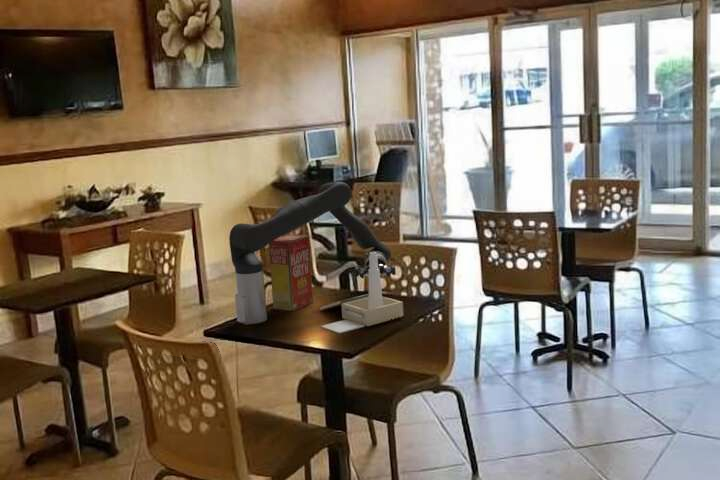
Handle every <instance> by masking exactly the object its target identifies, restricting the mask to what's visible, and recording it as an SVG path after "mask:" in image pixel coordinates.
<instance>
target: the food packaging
mask: <svg viewBox="0 0 720 480" xmlns="http://www.w3.org/2000/svg"><path fill="white" fill-rule="evenodd" d="M310 249H311V248H310V235H308V234H296V233H295V234H294V233H291V234H290V233H288V234H285V235H283V236H281V237H279V238H277V239H275V240H274V241H272V242H271V243H269V244H268V250H269V266H270V280H271V281H270V282H271V294H272V296H271V297H272V309H273V310H280V311H289V312H294V311H296V310H298V309H301V308H304V307H306V306H308V305H311V304H313V303H314V298H313V297H314V295H313V282H312V281H313V280H312V279H313V278H312V267H311V266H312V264H311V252H310Z"/></svg>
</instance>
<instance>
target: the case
mask: <svg viewBox="0 0 720 480" xmlns="http://www.w3.org/2000/svg"><path fill="white" fill-rule="evenodd" d="M367 296H369V293H366V295H365V294H362V295H357V296H354V297H349V298H345V299H342V300H339V301H340V302H341V303H342V304H341V316H342V317H341V319H343V320H349V321H352V322H356V323H359V324H362V325H364V326H366V327H369V326H373V325H377V324H381V323H384V322H387V321H391V319H392V320H395V318H396V319H398V317H399V318H402V316H403V317H404V301H401V300H398V299H394V298H390V297H386V296H383V295H382V299H383V306H381V307H377V308H373V309H369V310H368V305H369V297H367ZM363 297H366V298H363ZM359 298H362V299H359ZM355 299H358V300H355ZM351 300H354V301H351ZM347 301H350V302H347ZM343 302H346V303H343Z"/></svg>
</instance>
